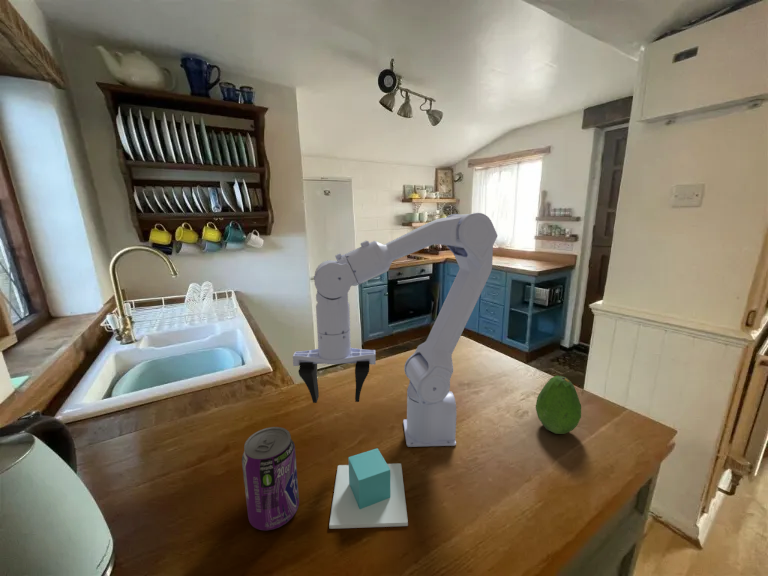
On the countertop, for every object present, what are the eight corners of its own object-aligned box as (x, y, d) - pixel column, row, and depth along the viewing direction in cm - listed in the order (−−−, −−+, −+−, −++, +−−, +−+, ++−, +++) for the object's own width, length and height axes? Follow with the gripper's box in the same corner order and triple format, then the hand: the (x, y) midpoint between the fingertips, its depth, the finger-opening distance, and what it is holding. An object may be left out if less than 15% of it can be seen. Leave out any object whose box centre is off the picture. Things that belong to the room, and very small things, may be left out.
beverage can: (284, 539, 42) (277, 463, 40) (237, 529, 44) (228, 455, 41) (307, 495, 49) (302, 427, 47) (266, 488, 51) (259, 422, 48)
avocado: (552, 446, 60) (559, 388, 57) (526, 420, 67) (531, 369, 65) (588, 439, 61) (596, 383, 59) (558, 416, 69) (564, 365, 66)
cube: (377, 474, 53) (377, 448, 52) (390, 497, 48) (390, 469, 47) (349, 484, 51) (348, 457, 50) (359, 509, 46) (358, 480, 45)
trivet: (401, 466, 55) (401, 463, 55) (407, 525, 44) (407, 522, 44) (338, 468, 55) (337, 465, 55) (329, 528, 44) (329, 525, 44)
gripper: (375, 321, 59) (375, 387, 62) (297, 322, 59) (301, 388, 62) (375, 334, 52) (376, 408, 55) (287, 336, 52) (292, 410, 55)
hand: (336, 399), depth 58 cm, fingers open, 7 cm apart
